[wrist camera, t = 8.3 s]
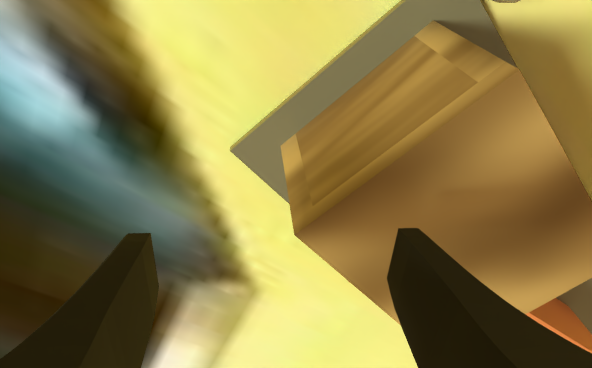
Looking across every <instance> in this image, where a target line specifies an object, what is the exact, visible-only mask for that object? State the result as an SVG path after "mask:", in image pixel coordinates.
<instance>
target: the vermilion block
mask: <svg viewBox="0 0 592 368" xmlns="http://www.w3.org/2000/svg"><path fill="white" fill-rule="evenodd" d="M526 315H527V316H529V317H530V318H532V319H533V320H535V321H536V322H538V323H539V324H541V325H543V326H544V327H546V328H548V329H549V330H551V331H553V332H554V333H556V334H558V335H560V336H561V337H563V338H565V339H566V340H568V341H570V342H572V343H573V344H575V345H577V346H579V347H581V348H583V349H585V350H586V351H588V352H590V353H592V334H591V333H590V332H589V331H588V329H587V328H586V327H585V326H584V324H583V323H582V322H581V321H580V320H579V318H578V317H577V316H576V315H575V314H574V312H573V311H572V310H571V309H570V307H569V306H567V305H566V304H564V303H563V302H561V301H560V300H558V299H557V298H554V299H552V300H551V301H549V302H547V303H545V304H543V305H542V306H540V307H538V308H536V309H534V310H533V311H531V312H529V313H527V314H526Z"/></svg>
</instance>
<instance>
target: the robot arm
mask: <svg viewBox="0 0 592 368" xmlns="http://www.w3.org/2000/svg"><path fill="white" fill-rule="evenodd" d="M387 282H388V286H389V290H390V294H391V298H392V301H393V305H394V309H395V311H396V314H397V316H398V319H399V322H400V324H401V327H402V329H403V332H404V334H405V336H406V339H407V341H408V344H409V346H410V349H411V351H412V354H413V356H414V359H415V361H416V363H417V366H418V368H592V353H590V352H588V351H586V350H585V349H583V348H581V347H579V346H577V345H575V344H573V343H572V342H570V341H568V340H566V339H565V338H563V337H561V336H560V335H558V334H556V333H554V332H553V331H551V330H549V329H548V328H546V327H544V326H543V325H541V324H539V323H538V322H536V321H535V320H533V319H532V318H530V317H529V316H527V315H526V314H524V313H523V312H521V311H520V310H518V309H517V308H515V307H514V306H512V305H511V304H509V303H508V302H507V301H505V300H504V299H503V298H501V297H500V296H499V295H497V294H496V293H495V292H493V291H492V290H491V289H489V288H488V287H487V286H485V285H484V284H483V283H482V282H480V281H479V280H478V279H477V278H475V277H474V276H473V275H472V274H471V273H469V272H468V271H467V270H466V269H465V268H463V267H462V266H461V265H460V264H459V263H458V262H456V261H455V260H454V259H453V258H452V257H451V256H450V255H448V254H447V253H446V252H445V251H444V250H443V249H442V248H441V247H439V246H438V245H437V244H436V243H435V242H434V241H433V240H432V239H430V238H429V237H428V236H427V235H426V234H425V233H423V232H422V231H421V230H420V229H419V228H398V232H397V236H396V240H395V245H394V249H393V253H392V258H391V262H390V266H389V270H388V275H387ZM158 288H159V284H158V278H157V271H156V265H155V259H154V252H153V246H152V240H151V233H132V234H127V235H126V236H125V237H124V238H123V239H122V240H121V242H120V243H119V244H118V245H117V246H116V248H115V249H114V250H113V251H112V252H111V254H110V255H109V256H108V257H107V258H106V259H105V261H104V262H103V263H102V264H101V265H100V266H99V267H98V269H97V270H96V271H95V272H94V273H93V274H92V275H91V276H90V277H89V279H88V280H87V281H86V282H85V283H84V284H83V285H82V286H81V287H80V288H79V289H78V290H77V291H76V293H75V294H74V295H73V296H72V297H71V298H69V299H68V300H67V301H66V302H65V303H64V304H63V305H62V306H61V307H60V308H59V309H58V310H57V311H56V312H55V313H54V314H53V315H52V316H51V317H50V318H49V319H48V320H47V321H46V322H45V323H44V324H43V325H41V326H40V327H39V328H38V329H37V330H36V331H35V332H33V333H32V334H31V335H30V336H29V337H28V338H26V339H25V340H24V341H23V342H22V343H21V344H19V345H18V346H17V347H16V348H14V349H13V350H12V351H11V352H9V353H8V354H7V355H5V356H4V357H3V358H1V359H0V368H141V365H142V361H143V358H144V354H145V350H146V347H147V343H148V339H149V336H150V332H151V328H152V325H153V321H154V316H155V309H156V303H157V295H158Z"/></svg>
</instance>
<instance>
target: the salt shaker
mask: <svg viewBox="0 0 592 368" xmlns="http://www.w3.org/2000/svg"><path fill="white" fill-rule="evenodd" d="M493 1H496V2H499V3H515V2H518V1H520V0H493Z"/></svg>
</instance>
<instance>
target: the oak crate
mask: <svg viewBox="0 0 592 368" xmlns="http://www.w3.org/2000/svg"><path fill="white" fill-rule="evenodd" d="M281 152H282V159H283V165H284V171H285V178H286V184H287V191H288V197H289V203H290V210H291V216H292V222H293V229H294V235H295V236H296V237H298V238H299V239H300V240H301V241H302V242H303V243H305V244H306V245H307V246H308V247H309V248H310V249H312V250H313V251H314V252H315V253H316V254H318V255H319V256H320V257H321V258H322V259H323V260H325V261H326V262H327V263H328V264H329V265H330V266H332V267H333V268H334V269H335V270H336V271H338V272H339V273H340V274H341V275H342V276H343V277H345V278H346V279H347V280H348V281H349V282H350V283H352V284H353V285H354V286H355V287H356V288H358V289H359V290H360V291H361V292H362V293H363V294H365V295H366V296H367V297H368V298H369V299H370V300H372V301H373V302H374V303H375V304H376V305H378V306H379V307H380V308H381V309H382V310H383V311H385V312H386V313H387V314H388V315H389V316H390V317H392V318H393V319H394V320H395V321H396V322H398V323H399V324H400V322H399V319H398V316H397V314H396V311H395V309H394V305H393V301H392V298H391V294H390V290H389V286H388V282H387V275H388V270H389V266H390V262H391V258H392V253H393V249H394V245H395V240H396V236H397V232H398V228H419V229H420V230H421V231H422V232H423V233H425V234H426V235H427V236H428V237H429V238H430V239H432V240H433V241H434V242H435V243H436V244H437V245H438V246H439V247H441V248H442V249H443V250H444V251H445V252H446V253H447V254H448V255H450V256H451V257H452V258H453V259H454V260H455V261H456V262H458V263H459V264H460V265H461V266H462V267H463V268H465V269H466V270H467V271H468V272H469V273H471V274H472V275H473V276H474V277H475V278H477V279H478V280H479V281H480V282H482V283H483V284H484V285H485V286H487V287H488V288H489V289H491V290H492V291H493V292H495V293H496V294H497V295H499V296H500V297H501V298H503V299H504V300H505V301H507V302H508V303H509V304H511V305H512V306H514V307H515V308H517V309H518V310H520V311H521V312H523V313H524V314H527V313H529V312H531V311H533V310H534V309H536V308H538V307H540V306H542V305H543V304H545V303H547V302H549V301H551V300H552V299H554V298H556V297H558V296H560V295H561V294H563V293H565V292H567V291H569V290H570V289H572V288H574V287H576V286H578V285H580V284H581V283H583V282H585V281H587V280H589V279H590V278H592V201H591V199H590V197H589V195H588V193H587V191H586V190H585V188H584V186H583V184H582V182H581V181H580V179H579V177H578V175H577V173H576V171H575V170H574V168H573V166H572V164H571V162H570V161H569V159H568V157H567V155H566V153H565V151H564V150H563V148H562V146H561V144H560V142H559V141H558V139H557V137H556V135H555V133H554V131H553V130H552V128H551V126H550V124H549V122H548V121H547V119H546V117H545V115H544V113H543V111H542V110H541V108H540V106H539V104H538V102H537V101H536V99H535V97H534V95H533V93H532V91H531V90H530V88H529V86H528V84H527V82H526V81H525V79H524V77H523V75H522V73H521V71H520V70H519V69H518V68H516V67H514V66H512V65H511V64H509V63H507V62H505V61H504V60H502V59H500V58H498V57H497V56H495V55H493V54H491V53H490V52H488V51H486V50H484V49H483V48H481V47H479V46H477V45H476V44H474V43H472V42H470V41H469V40H467V39H465V38H463V37H462V36H460V35H458V34H456V33H455V32H453V31H451V30H449V29H448V28H446V27H444V26H442V25H441V24H439V23H437V22H435V21H434V20H433V21H432V22H430V23H429V24H428V25H427V26H426V27H424V28H423V29H422V30H421V31H420V32H418V33H417V34H416V35H415V36H413V37H412V38H411V39H410V40H409V41H407V42H406V43H405V44H404V45H403V46H401V47H400V48H399V49H398V50H396V51H395V52H394V53H393V54H392V55H390V56H389V57H388V58H387V59H386V60H384V61H383V62H382V63H381V64H379V65H378V66H377V67H376V68H375V69H373V70H372V71H371V72H370V73H369V74H367V75H366V76H365V77H364V78H362V79H361V80H360V81H359V82H358V83H356V84H355V85H354V86H353V87H352V88H350V89H349V90H348V91H347V92H345V93H344V94H343V95H342V96H341V97H339V98H338V99H337V100H336V101H334V102H333V103H332V104H331V105H330V106H328V107H327V108H326V109H325V110H324V111H322V112H321V113H320V114H319V115H317V116H316V117H315V118H314V119H313V120H311V121H310V122H309V123H308V124H307V125H305V126H304V127H303V128H302V129H300V130H299V131H298V132H297V133H296V134H294V135H293V136H292V137H291V138H290V139H288V140H287V141H286V142H285V143H283V144H282V145H281ZM400 325H401V324H400Z"/></svg>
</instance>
